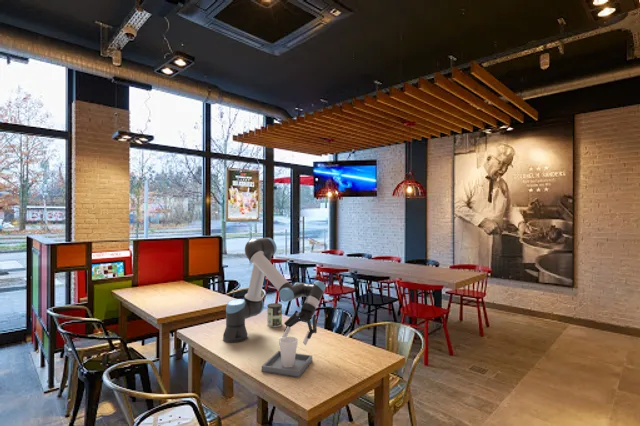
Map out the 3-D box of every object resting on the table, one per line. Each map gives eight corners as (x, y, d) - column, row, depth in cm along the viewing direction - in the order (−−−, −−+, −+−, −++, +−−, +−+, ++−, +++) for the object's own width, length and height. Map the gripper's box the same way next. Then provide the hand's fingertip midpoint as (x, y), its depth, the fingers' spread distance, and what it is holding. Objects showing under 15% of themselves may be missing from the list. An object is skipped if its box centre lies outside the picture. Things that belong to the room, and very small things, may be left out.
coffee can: (283, 323, 251) (283, 303, 251) (279, 327, 241) (279, 307, 241) (270, 322, 253) (270, 302, 253) (265, 326, 243) (265, 306, 243)
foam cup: (282, 370, 175) (282, 344, 175) (276, 362, 183) (276, 338, 183) (299, 366, 179) (299, 341, 179) (293, 359, 187) (293, 335, 187)
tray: (261, 371, 174) (261, 365, 174) (278, 356, 194) (278, 350, 194) (298, 378, 168) (298, 371, 168) (312, 361, 187) (312, 355, 187)
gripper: (331, 313, 192) (316, 349, 180) (295, 306, 206) (278, 339, 193) (326, 306, 188) (310, 342, 175) (289, 299, 201) (272, 332, 189)
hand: (293, 341), depth 184 cm, fingers open, 13 cm apart
